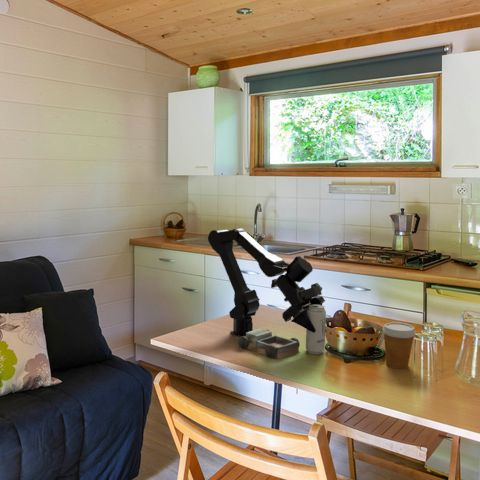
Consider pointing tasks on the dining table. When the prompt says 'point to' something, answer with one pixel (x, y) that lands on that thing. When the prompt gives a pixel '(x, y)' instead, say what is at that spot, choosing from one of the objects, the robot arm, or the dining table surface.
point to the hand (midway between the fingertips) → (319, 329)
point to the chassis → (269, 343)
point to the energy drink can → (316, 339)
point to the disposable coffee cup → (398, 344)
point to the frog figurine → (381, 340)
